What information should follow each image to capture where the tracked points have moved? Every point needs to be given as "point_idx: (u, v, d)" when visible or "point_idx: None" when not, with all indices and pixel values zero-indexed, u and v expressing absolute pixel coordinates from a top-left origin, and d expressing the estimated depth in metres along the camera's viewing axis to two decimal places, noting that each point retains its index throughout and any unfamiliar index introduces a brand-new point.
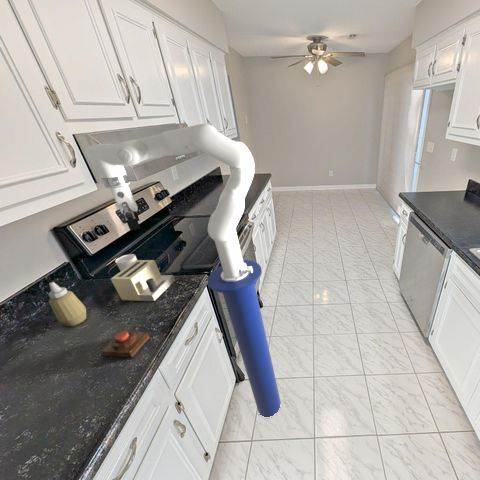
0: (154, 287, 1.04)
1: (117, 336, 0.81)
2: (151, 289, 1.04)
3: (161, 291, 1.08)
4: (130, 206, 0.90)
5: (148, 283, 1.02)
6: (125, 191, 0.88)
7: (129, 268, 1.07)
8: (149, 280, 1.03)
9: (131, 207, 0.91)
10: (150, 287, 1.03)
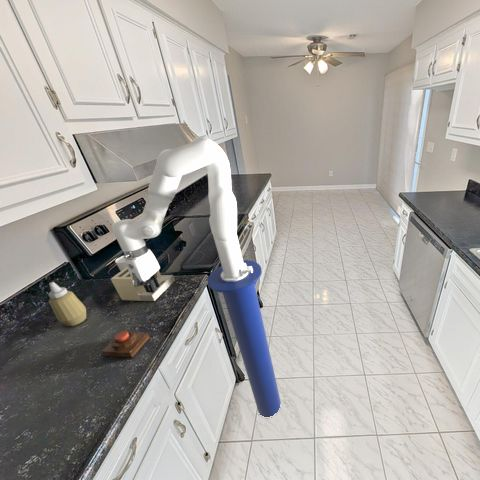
0: (154, 287, 1.04)
1: (117, 336, 0.81)
2: None
3: (161, 291, 1.08)
4: None
5: None
6: (134, 265, 0.94)
7: None
8: (149, 280, 1.03)
9: None
10: None
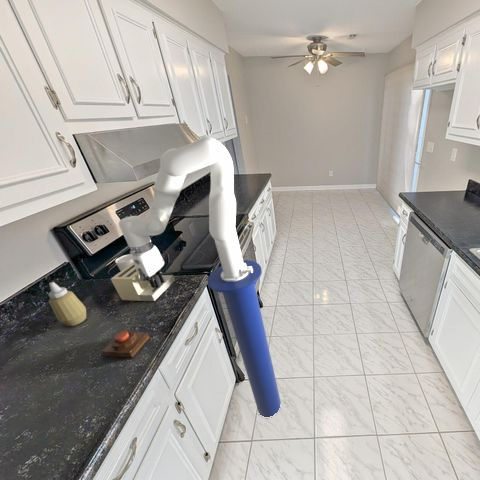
0: (159, 282, 1.07)
1: (117, 336, 0.81)
2: None
3: (161, 291, 1.08)
4: None
5: None
6: (140, 260, 0.97)
7: (129, 268, 1.07)
8: (154, 276, 1.06)
9: None
10: None
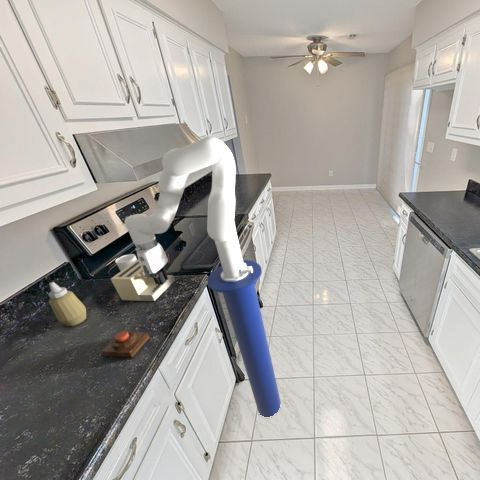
0: (163, 279, 1.09)
1: (117, 336, 0.81)
2: None
3: (161, 291, 1.08)
4: None
5: None
6: (145, 257, 0.99)
7: (129, 268, 1.07)
8: (158, 272, 1.08)
9: None
10: None
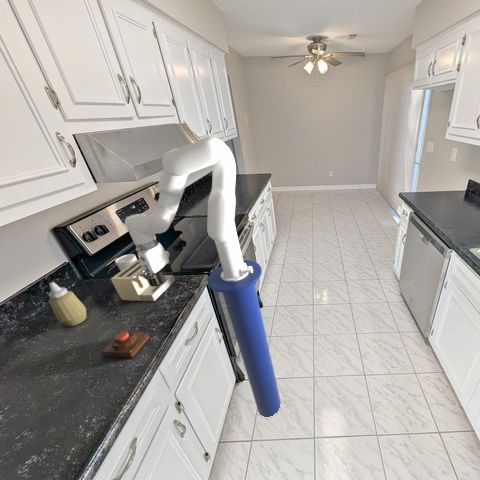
0: (163, 279, 1.09)
1: (117, 336, 0.81)
2: (160, 281, 1.09)
3: (161, 291, 1.08)
4: (149, 268, 1.01)
5: (157, 275, 1.07)
6: (145, 257, 0.99)
7: (129, 268, 1.07)
8: (158, 272, 1.08)
9: (150, 269, 1.01)
10: (159, 279, 1.08)
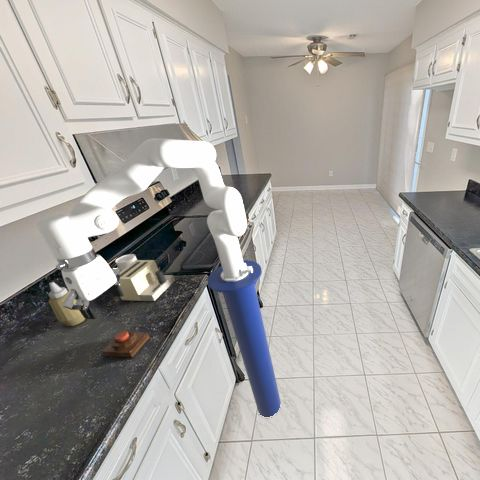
0: (163, 279, 1.09)
1: (117, 336, 0.81)
2: (160, 281, 1.09)
3: (161, 291, 1.08)
4: (80, 295, 0.68)
5: (157, 275, 1.07)
6: (73, 278, 0.66)
7: (129, 268, 1.07)
8: (158, 272, 1.08)
9: (81, 296, 0.68)
10: (159, 279, 1.08)
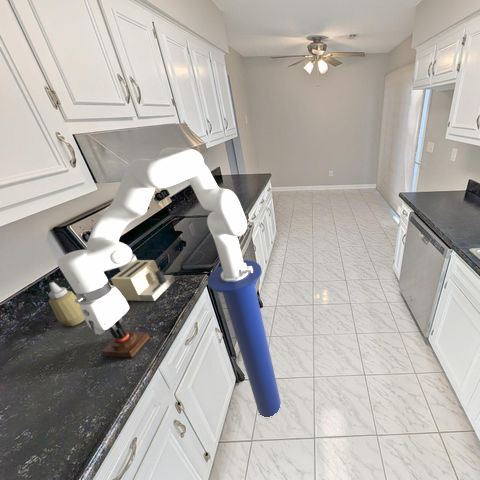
0: (163, 279, 1.09)
1: None
2: (160, 281, 1.09)
3: (161, 291, 1.08)
4: None
5: (157, 275, 1.07)
6: (90, 310, 0.70)
7: (129, 268, 1.07)
8: (158, 272, 1.08)
9: None
10: (159, 279, 1.08)
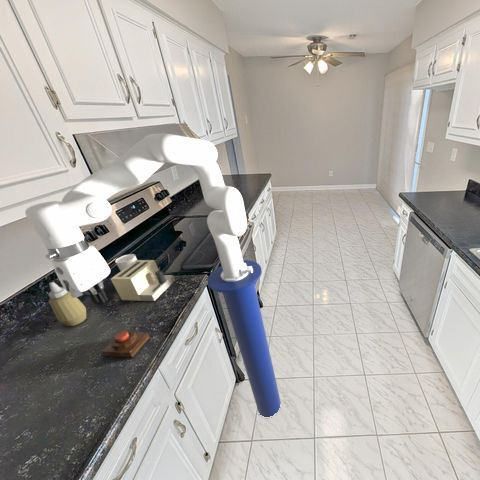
0: (163, 279, 1.09)
1: (117, 336, 0.81)
2: (160, 281, 1.09)
3: (161, 291, 1.08)
4: None
5: (157, 275, 1.07)
6: (64, 268, 0.64)
7: (129, 268, 1.07)
8: (158, 272, 1.08)
9: None
10: (159, 279, 1.08)
